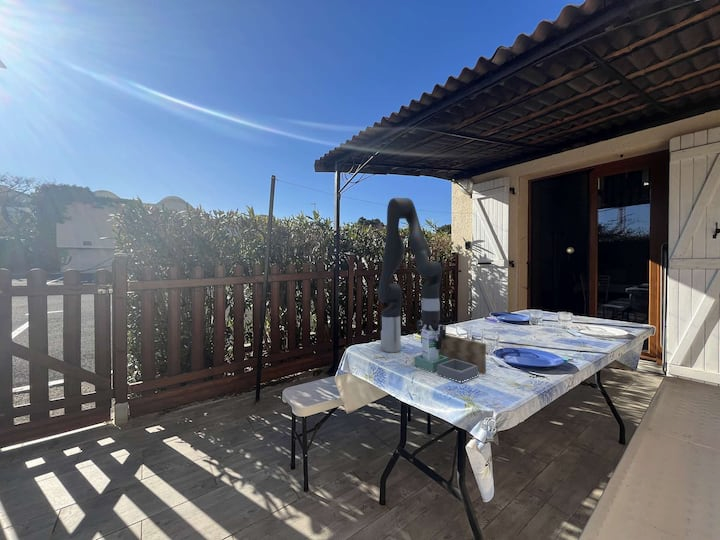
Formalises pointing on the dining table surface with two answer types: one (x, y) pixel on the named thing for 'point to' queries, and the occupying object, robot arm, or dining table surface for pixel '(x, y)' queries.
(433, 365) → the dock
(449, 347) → the back panel
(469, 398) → the dining table surface
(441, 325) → the robot arm
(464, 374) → the box
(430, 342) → the syrup box
